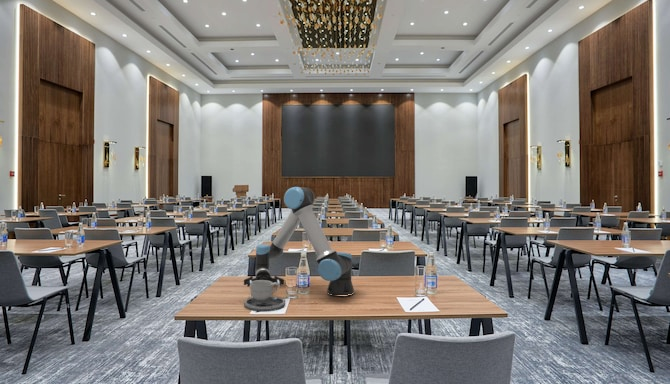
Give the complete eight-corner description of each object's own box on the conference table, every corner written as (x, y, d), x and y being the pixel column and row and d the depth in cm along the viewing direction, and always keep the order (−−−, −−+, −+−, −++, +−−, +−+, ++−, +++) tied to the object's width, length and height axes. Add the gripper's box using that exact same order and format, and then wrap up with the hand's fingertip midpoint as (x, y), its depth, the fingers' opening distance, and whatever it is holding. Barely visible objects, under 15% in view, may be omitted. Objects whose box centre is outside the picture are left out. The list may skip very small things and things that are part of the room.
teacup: (249, 302, 196) (250, 285, 195) (249, 294, 207) (250, 278, 206) (279, 302, 199) (280, 286, 198) (277, 294, 210) (278, 279, 209)
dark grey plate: (291, 302, 212) (291, 298, 212) (274, 313, 193) (274, 309, 193) (256, 298, 218) (256, 294, 218) (236, 308, 199) (236, 304, 199)
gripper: (285, 282, 228) (289, 292, 207) (239, 283, 223) (238, 293, 202) (286, 269, 228) (290, 277, 207) (239, 269, 223) (239, 278, 202)
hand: (264, 285), depth 205 cm, fingers closed on teacup, 13 cm apart
